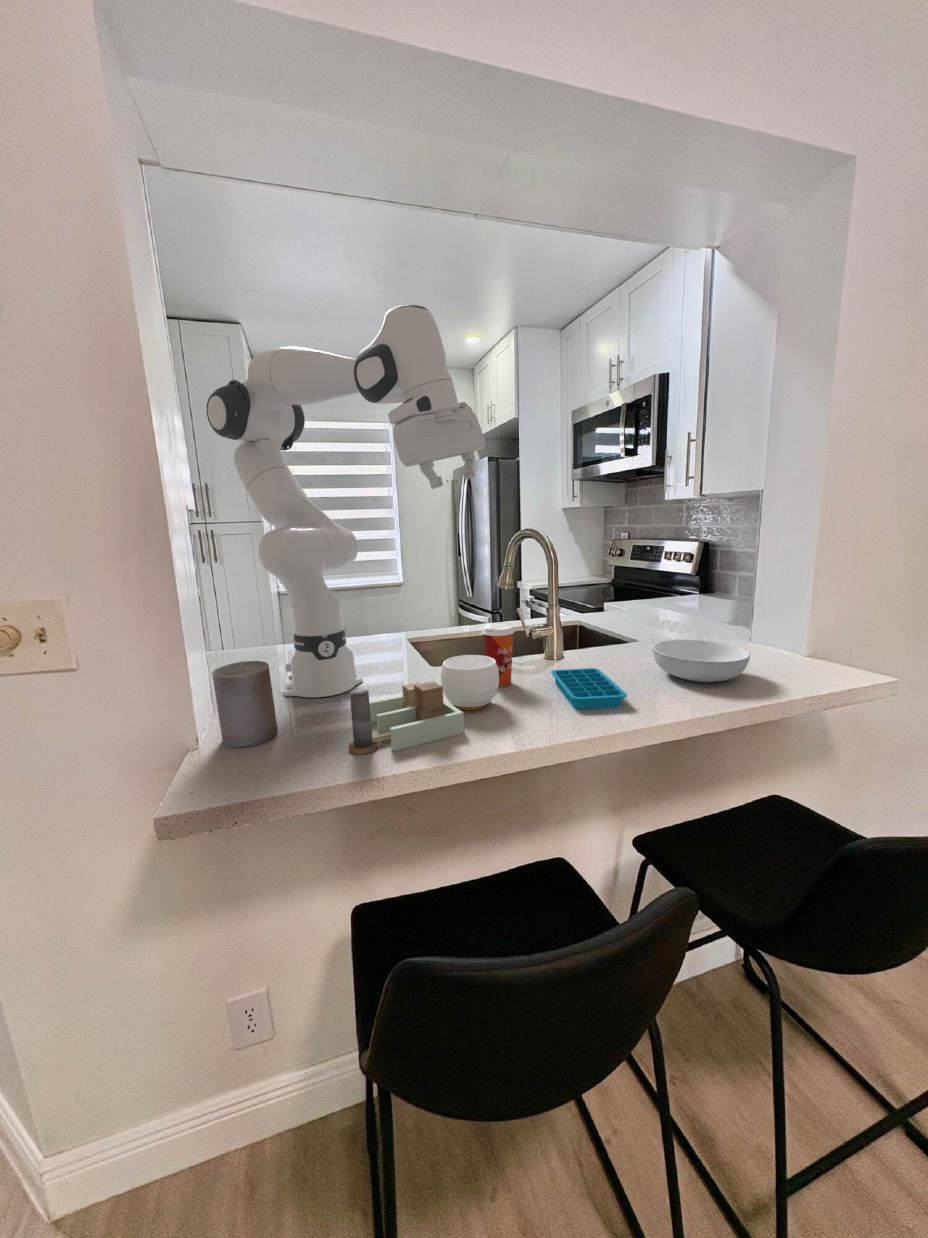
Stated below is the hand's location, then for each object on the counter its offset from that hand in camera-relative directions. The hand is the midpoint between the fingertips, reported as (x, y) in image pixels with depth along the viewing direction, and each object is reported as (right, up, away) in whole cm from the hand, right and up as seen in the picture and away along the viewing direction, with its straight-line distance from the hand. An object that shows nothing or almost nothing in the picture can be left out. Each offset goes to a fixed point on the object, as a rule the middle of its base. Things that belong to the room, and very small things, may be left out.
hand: (454, 482), depth 92 cm
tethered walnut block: (-10, -47, -1) cm, 48 cm away
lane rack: (-8, -46, +4) cm, 47 cm away
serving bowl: (+58, -39, +28) cm, 76 cm away
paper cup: (+10, -41, +28) cm, 51 cm away
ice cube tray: (+29, -42, +19) cm, 55 cm away
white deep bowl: (+3, -44, +14) cm, 46 cm away
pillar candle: (-39, -48, +2) cm, 62 cm away
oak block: (-8, -45, +8) cm, 47 cm away
